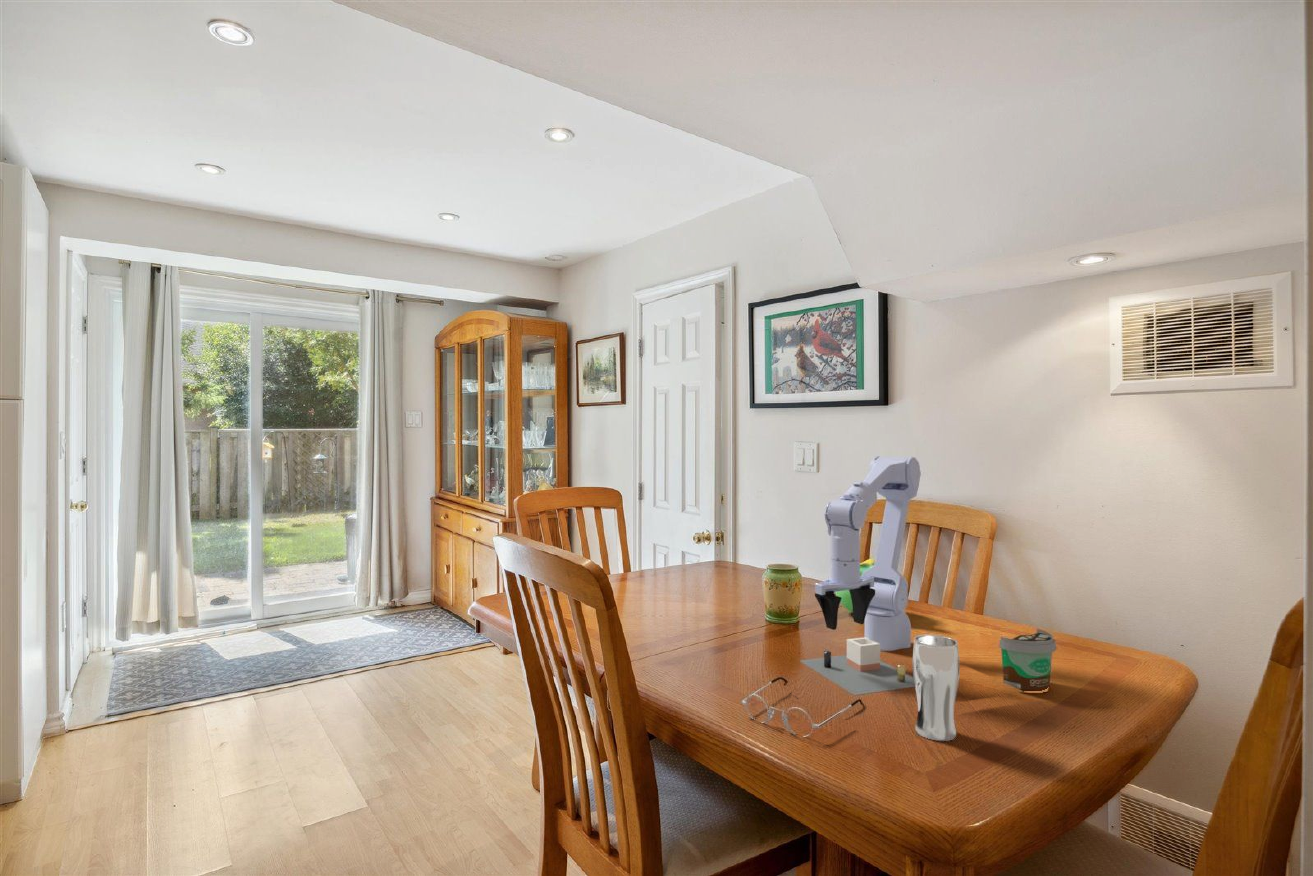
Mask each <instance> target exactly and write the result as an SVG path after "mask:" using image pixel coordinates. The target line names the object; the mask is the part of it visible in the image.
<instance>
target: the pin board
mask: <svg viewBox="0 0 1313 876" xmlns="http://www.w3.org/2000/svg"><path fill="white" fill-rule="evenodd" d="M798 661H799V662H800V663H802V664H804V665H805V666H806V667H808V668H809V669H810V668H811V669H812V670H813V671H815V672H817V673H818V674H819V675H821V676H823V677H824V678H826V679H828V680H829V681H830V682H832V683H834V684H836V685H837V686H839V687H840V688H842V689H843V690H845V691H847V692H848V693H849V694H851V695H853V696H858V695H867V694H874V693H881V692H888V691H895V690H902V689H909V688H910V689H911V688H915V684H914V677H913V675H910V674H908V673H906V672H905V682H898V681H897V667H894V666H892V665H891V664H888V663H886V662H884V661H882V660H880V669H876V670H868V671H859V670H857V669H855V668H853V667H852V666H850V665H848V664H847V654H841V655H834V656H831V668H825V667H824V657H818V658H810V659H801V660H798Z"/></svg>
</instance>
